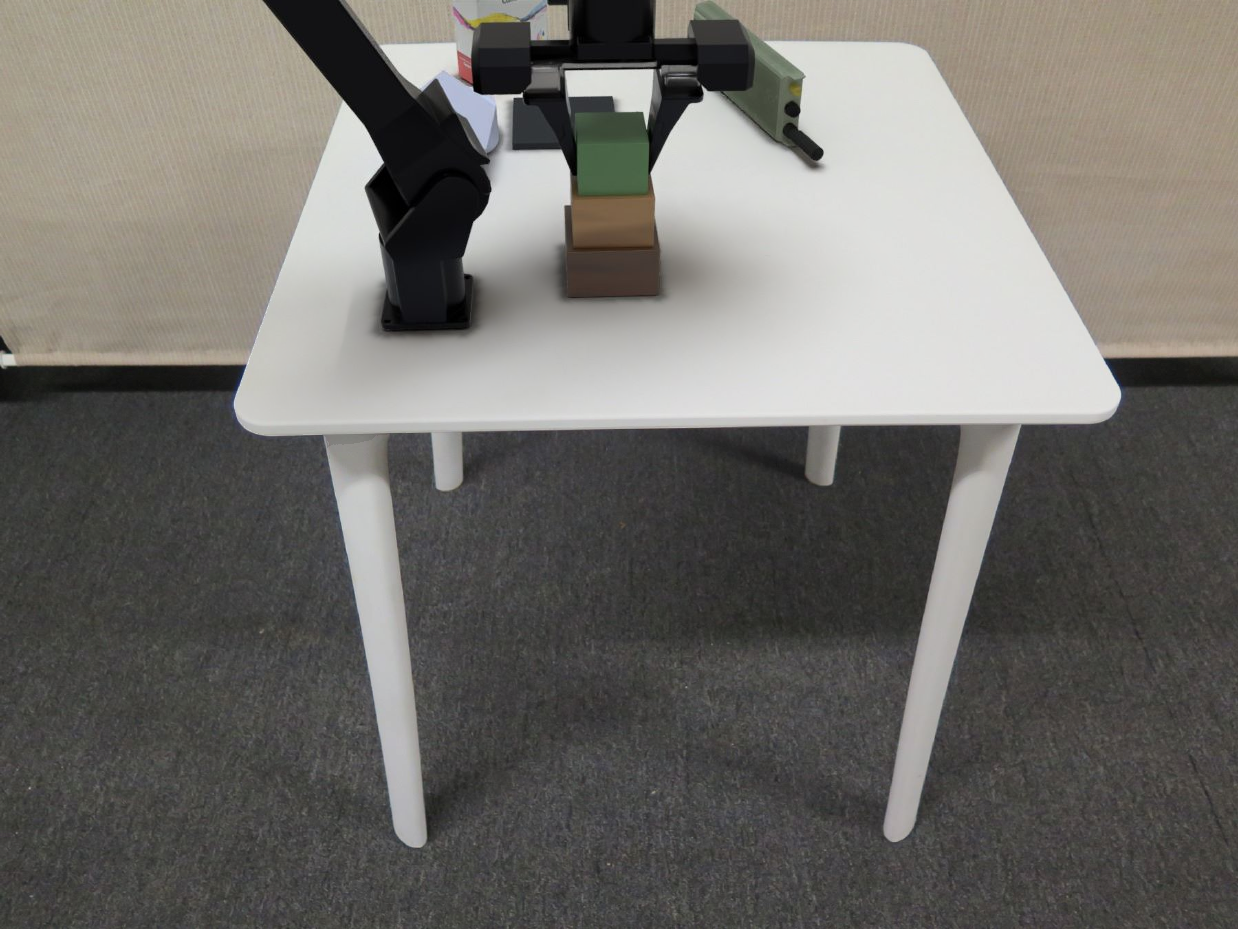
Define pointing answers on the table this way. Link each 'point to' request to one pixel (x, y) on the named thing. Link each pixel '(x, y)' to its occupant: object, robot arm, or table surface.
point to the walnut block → (611, 268)
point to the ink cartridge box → (493, 4)
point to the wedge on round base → (472, 108)
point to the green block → (611, 153)
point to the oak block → (612, 219)
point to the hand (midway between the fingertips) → (611, 172)
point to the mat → (535, 128)
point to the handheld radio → (769, 89)
